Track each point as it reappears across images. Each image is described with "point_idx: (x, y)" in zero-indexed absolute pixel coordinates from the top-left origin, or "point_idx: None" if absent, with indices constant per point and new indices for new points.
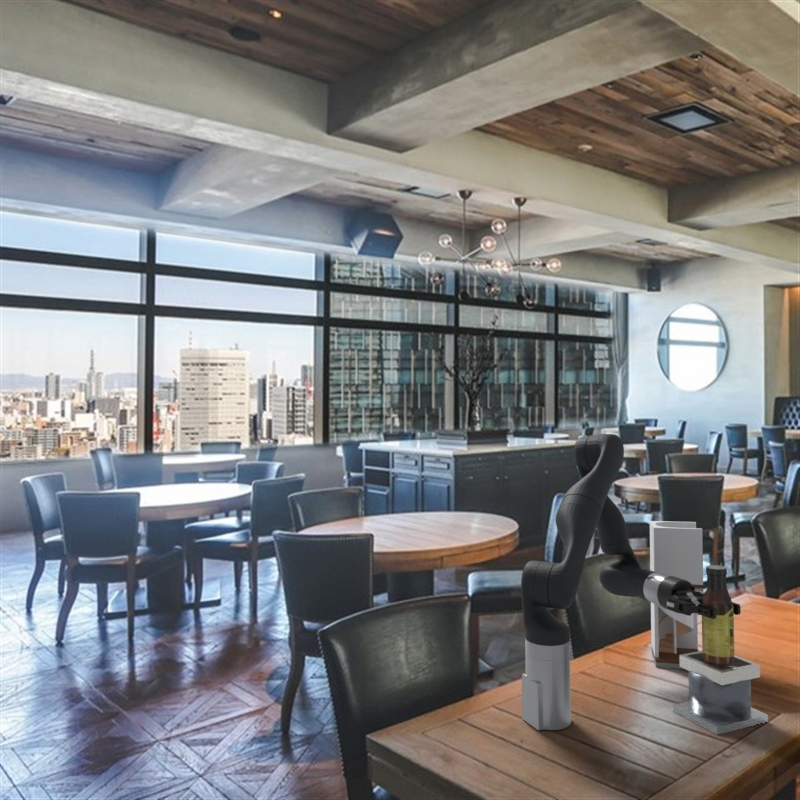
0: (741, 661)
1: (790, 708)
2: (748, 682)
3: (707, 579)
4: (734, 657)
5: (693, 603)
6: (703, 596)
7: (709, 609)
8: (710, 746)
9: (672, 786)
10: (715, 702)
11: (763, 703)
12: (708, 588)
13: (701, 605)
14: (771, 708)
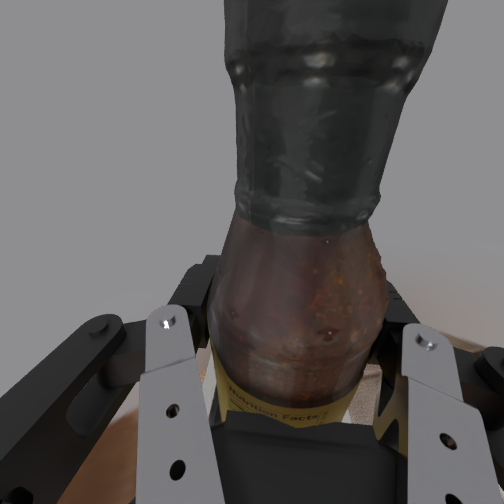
0: (214, 394)
1: (109, 428)
2: None
3: (391, 145)
4: (208, 419)
5: (451, 367)
6: (386, 288)
7: None
8: (364, 397)
9: (464, 349)
10: None
11: (111, 487)
12: (367, 219)
13: (402, 315)
14: (133, 452)
